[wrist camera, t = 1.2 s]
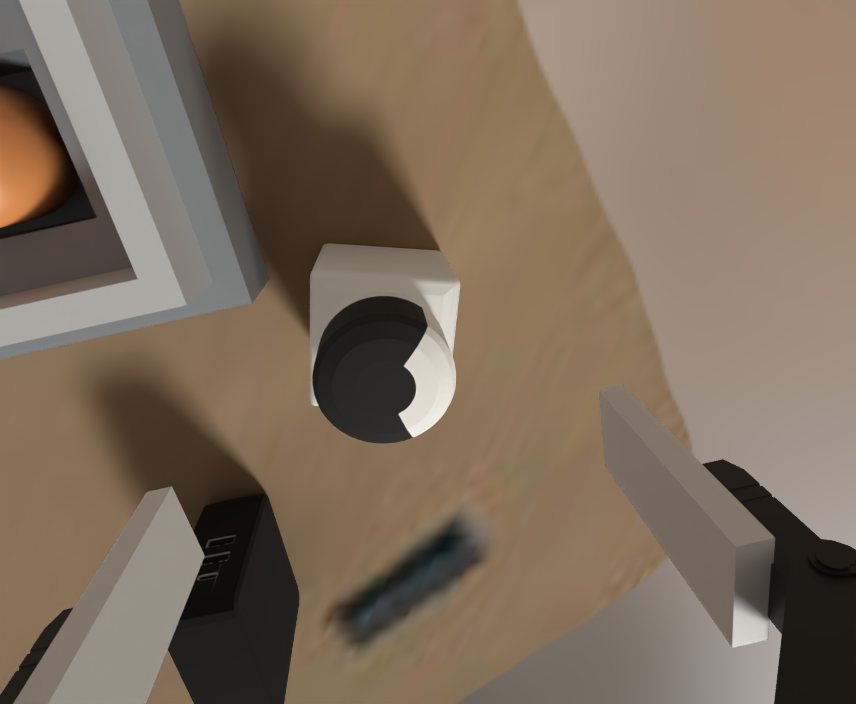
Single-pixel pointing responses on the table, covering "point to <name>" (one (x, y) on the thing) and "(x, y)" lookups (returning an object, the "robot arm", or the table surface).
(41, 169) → the button
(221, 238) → the grey open box
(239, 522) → the electronic device
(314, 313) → the medicine bottle
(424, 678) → the table surface
